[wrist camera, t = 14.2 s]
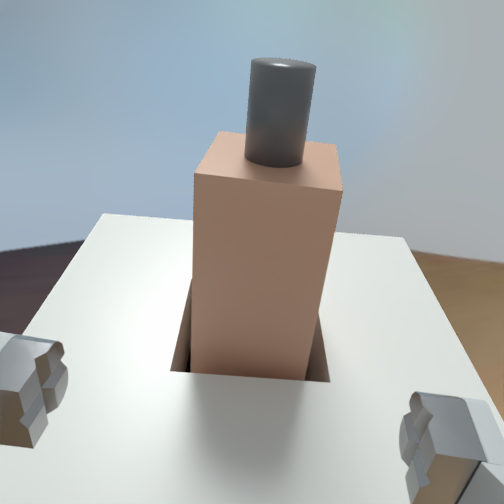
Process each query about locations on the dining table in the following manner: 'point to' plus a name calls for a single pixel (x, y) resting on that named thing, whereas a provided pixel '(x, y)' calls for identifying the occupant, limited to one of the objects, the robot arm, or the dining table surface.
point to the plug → (263, 232)
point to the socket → (231, 383)
